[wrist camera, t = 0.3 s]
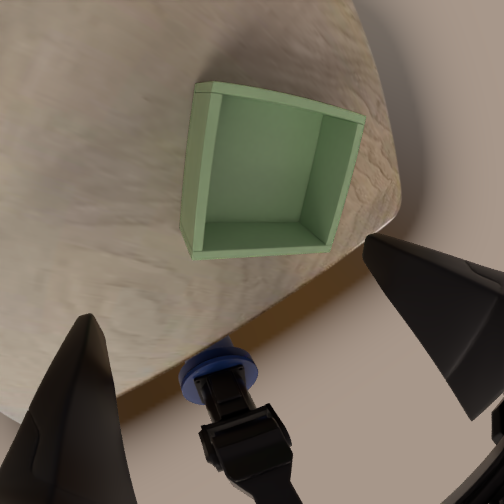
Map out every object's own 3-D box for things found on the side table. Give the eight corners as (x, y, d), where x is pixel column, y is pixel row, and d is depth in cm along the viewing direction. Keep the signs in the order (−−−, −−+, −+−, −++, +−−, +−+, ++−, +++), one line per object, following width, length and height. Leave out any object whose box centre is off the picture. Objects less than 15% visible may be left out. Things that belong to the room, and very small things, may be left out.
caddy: (300, 226, 28) (330, 252, 24) (179, 228, 23) (191, 260, 19) (327, 107, 22) (366, 116, 18) (195, 83, 18) (213, 80, 14)
